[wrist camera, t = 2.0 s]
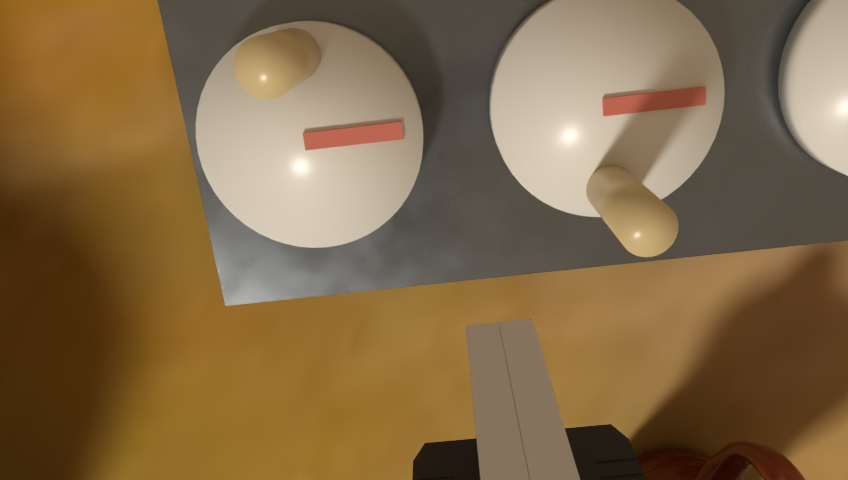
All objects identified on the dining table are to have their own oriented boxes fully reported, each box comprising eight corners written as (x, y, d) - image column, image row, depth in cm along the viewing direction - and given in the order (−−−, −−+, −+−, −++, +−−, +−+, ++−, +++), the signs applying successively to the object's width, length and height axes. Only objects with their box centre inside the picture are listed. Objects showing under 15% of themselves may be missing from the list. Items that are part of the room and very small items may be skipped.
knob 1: (231, 246, 32) (179, 311, 26) (185, 34, 30) (114, 46, 23) (435, 224, 32) (436, 284, 25) (409, 7, 29) (403, 10, 22)
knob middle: (497, 217, 32) (516, 276, 25) (479, -1, 29) (494, -1, 22) (708, 194, 32) (784, 248, 25) (710, -30, 29) (797, -38, 22)
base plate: (232, 295, 35) (217, 317, 32) (159, -37, 30) (137, -40, 28) (980, 216, 33) (1022, 232, 31) (1029, -147, 28) (1083, -160, 26)
